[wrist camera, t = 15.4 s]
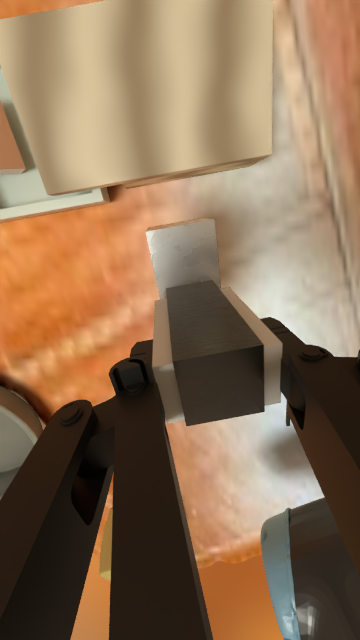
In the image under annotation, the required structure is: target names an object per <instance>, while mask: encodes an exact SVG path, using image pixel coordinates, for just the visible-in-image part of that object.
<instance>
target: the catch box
mask: <svg viewBox="0 0 360 640" xmlns="http://www.w3.org/2000/svg"><path fill="white" fill-rule="evenodd" d="M0 101H1V104H2V107H3V109H4V112H5V115H6V117H7V120H8V122H9V125H10V128H11V130H12V133H13V136H14V138H15V141H16V144H17V146H18V149H19V152H20V154H21V157H22V160H23V162H24V165H25V168H26V169H25V170H24V171H23V172H22V173H21V174H0V223H2V222H7V221H13V220H18V219H24V218H29V217H35V216H40V215H46V214H51V213H57V212H63V211H68V210H74V209H79V208H85V207H90V206H96V205H101V204H107V203H111V201H110V197H109V194H108V190H107V187H103V188H97V189H92V190H86V191H81V192H75V193H70V194H64V195H59V196H51V195H47V193H46V190H45V187H44V185H43V182H42V179H41V176H40V173H39V171H38V168H37V165H36V162H35V160H34V157H33V154H32V151H31V148H30V146H29V143H28V140H27V137H26V135H25V132H24V129H23V126H22V123H21V121H20V118H19V115H18V112H17V110H16V107H15V104H14V101H13V99H12V96H11V93H10V90H9V87H8V85H7V82H6V79H5V76H4V74H3V71H2V68H1V65H0Z"/></svg>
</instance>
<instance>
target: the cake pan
mask: <svg viewBox="0 0 360 640" xmlns="http://www.w3.org/2000/svg"><path fill="white" fill-rule="evenodd" d="M42 432H43V429H42V425H41V423H40V420H39V418H38V416H37V415H36V414H35V412H34V411H33V410H32V409H31V407H30V406H29V405H28V404H27V403H26V402H25V401H24V400H23V399H21V398H20V397H19V396H17V395H16V394H15V393H13V392H11V391H9V390H7V389H6V388H4V387H2V386H0V499H1V498H2V496H3V495H4V493H5V491H6V490H7V488H8V487H9V485H10V483H11V482H12V480H13V478H14V477H15V475H16V474H17V472H18V470H19V469H20V467H21V466H22V464H23V462H24V461H25V459H26V458H27V456H28V454H29V453H30V451H31V450H32V448H33V446H34V445H35V443H36V442H37V440H38V438H39V437H40V435H41V433H42Z"/></svg>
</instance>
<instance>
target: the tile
mask: <svg viewBox="0 0 360 640" xmlns="http://www.w3.org/2000/svg"><path fill="white" fill-rule="evenodd" d="M25 169H26V168H25V165H24V162H23V160H22V157H21V154H20V152H19V149H18V146H17V144H16V141H15V138H14V136H13V133H12V130H11V128H10V125H9V122H8V120H7V117H6V115H5V112H4V109H3V107H2V104H1V101H0V174H21V173H22V172H23V171H24V170H25Z"/></svg>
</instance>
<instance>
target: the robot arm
mask: <svg viewBox="0 0 360 640" xmlns="http://www.w3.org/2000/svg"><path fill="white" fill-rule="evenodd" d="M220 290H221V291H222V293H223V294H224V295H225V296H226V298H227V299H228V300H229V301H230V303H231V304H232V305H233V306H234V308H235V309H236V310H237V311H238V313H239V314H240V315H241V316H242V318H243V319H244V320H245V322H246V323H247V324H248V325H249V327H250V328H251V329H252V330H253V332H254V333H255V334H256V335H257V337H258V338H259V339H260V340H261V342H262V343H263V344H264V406H265V405H270V404H276V403H281V392H282V393H283V395H284V396H285V398H286V399H287V408H286V425H287V426H290V419H291V421H292V423H293V425H294V428H295V430H296V432H297V435H298V437H299V439H300V441H301V444H302V446H303V448H304V451H305V453H306V455H307V458H308V460H309V462H310V464H311V467H312V469H313V471H314V474H315V476H316V478H317V480H318V483H319V485H320V487H321V490H322V492H323V494H324V496H325V497H324V498H321V499H318V500H316V501H313V502H310V503H307V504H305V505H302V506H299V507H296V508H294V509H290V508H287V509H286V511H285V512H283V513H280V514H278V515H276V516H274V517H271V518H269V519H267V520H266V521H265V522H264V524H263V526H262V529H261V549H262V557H263V563H264V568H265V574H266V578H267V583H268V588H269V592H270V596H271V600H272V604H273V608H274V611H275V615H276V619H277V622H278V625H279V629H280V631H281V633H282V635H283V638H284V640H360V350H359V353H358V357H334V356H333V355H332V354H331V353H330V352H329V351H327V350H326V349H324V348H321V347H319V346H314V345H306V344H304V343H303V342H302V341H301V340H300V339H299V338H298V337H297V336H296V335H294V334H293V333H292V332H290V330H289V329H288V328H287V327H285V326H284V325H283V324H282V323H281V322H280V321H278V320H276V319H274V318H271V317H268V318H262V319H259V318H258V317H257V316H256V315H255V314H254V313H253V312H252V311H251V309H250V308H249V307H248V306H247V305H246V304H245V303H244V302H243V301H242V300H241V299H240V298H239V297H238V296H237V295H236V294H235V293H234V292H233V290H232V289H231V288H230V287H228V288H222V289H220ZM109 376H110V379H111V382H112V384H113V387H114V390H115V393H116V395H115V396H114V397H113V398H111V399H109V400H107V401H105V402H103V403H101V404H98V405H96V406H93V407H92V404H91V402H89V401H87V400H76V401H72V402H70V403H68V404H66V405H64V406H63V407H61V408H60V409H59V410H58V411H56V413H55V414H54V415H53V416H52V417H51V419H50V421H49V422H48V424H47V425H46V427H45V429H44V430H43V432H42V433H41V435H40V437H39V438H38V440H37V442H36V443H35V445H34V446H33V448H32V450H31V451H30V453H29V454H28V456H27V458H26V459H25V461H24V462H23V464H22V466H21V467H20V469H19V470H18V472H17V474H16V475H15V477H14V478H13V480H12V482H11V483H10V485H9V487H8V488H7V490H6V491H5V493H4V495H3V496H2V498H1V499H0V640H70V638H71V635H72V631H73V627H74V623H75V619H76V615H77V611H78V607H79V604H80V600H81V596H82V591H83V588H84V584H85V580H86V576H87V573H88V569H89V565H90V561H91V557H92V553H93V549H94V545H95V541H96V537H97V534H98V530H99V526H100V522H101V518H102V514H103V510H104V507H105V503H106V499H107V495H108V491H109V487H110V483H111V479H112V476H113V472H114V477H113V514H112V550H111V587H110V588H111V589H110V624H109V626H110V627H109V640H213V636H212V632H211V627H210V623H209V619H208V614H207V609H206V605H205V600H204V596H203V591H202V586H201V582H200V578H199V573H198V568H197V564H196V559H195V555H194V550H193V546H192V541H191V537H190V532H189V528H188V523H187V519H186V514H185V510H184V505H183V500H182V496H181V491H180V487H179V482H178V478H177V473H176V469H175V464H174V460H173V455H172V451H171V446H170V442H169V437H168V433H167V429H166V425H165V418H166V422H167V424H168V423H174V422H179V421H184V420H185V417H184V413H183V408H182V403H181V399H180V394H179V390H178V385H177V380H176V376H175V371H174V366H173V362H172V351H171V340H170V329H169V318H168V307H167V299H163V300H157V301H155V311H154V334H153V340H147V341H142V342H137V343H136V344H135V345H134V346H133V348H132V349H131V354H130V358H126V359H124V360H121V361H120V362H118V363H116V364H115V365H114V366H113V367H112V368H111V369H110V372H109Z"/></svg>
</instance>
